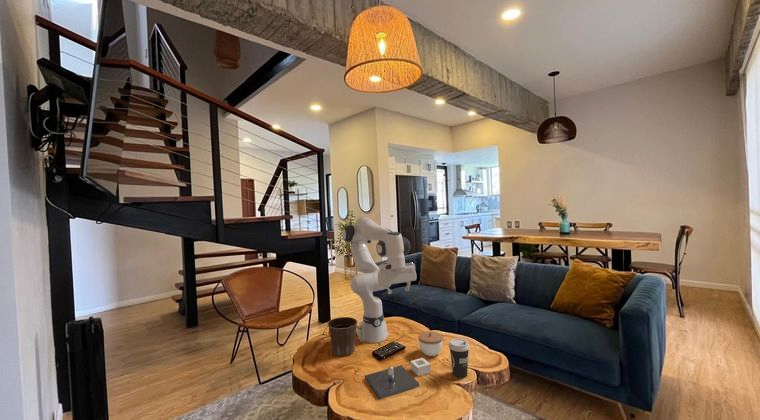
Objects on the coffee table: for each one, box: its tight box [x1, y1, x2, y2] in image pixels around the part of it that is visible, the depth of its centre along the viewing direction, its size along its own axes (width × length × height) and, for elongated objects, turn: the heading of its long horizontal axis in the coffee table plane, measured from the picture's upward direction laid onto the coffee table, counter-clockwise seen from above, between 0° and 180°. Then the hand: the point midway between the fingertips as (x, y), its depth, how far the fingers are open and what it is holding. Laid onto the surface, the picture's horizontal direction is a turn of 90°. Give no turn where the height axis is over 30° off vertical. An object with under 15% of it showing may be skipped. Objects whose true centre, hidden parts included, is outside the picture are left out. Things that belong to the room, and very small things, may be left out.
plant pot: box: [327, 316, 358, 357], centre depth 176 cm, size 16×16×16 cm
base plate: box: [364, 365, 420, 400], centre depth 144 cm, size 17×19×7 cm
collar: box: [410, 357, 432, 377], centre depth 153 cm, size 7×7×4 cm
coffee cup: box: [448, 337, 471, 379], centre depth 148 cm, size 10×10×15 cm
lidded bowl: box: [417, 330, 444, 357], centre depth 169 cm, size 13×13×11 cm
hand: (398, 292), depth 160 cm, fingers open, 8 cm apart
